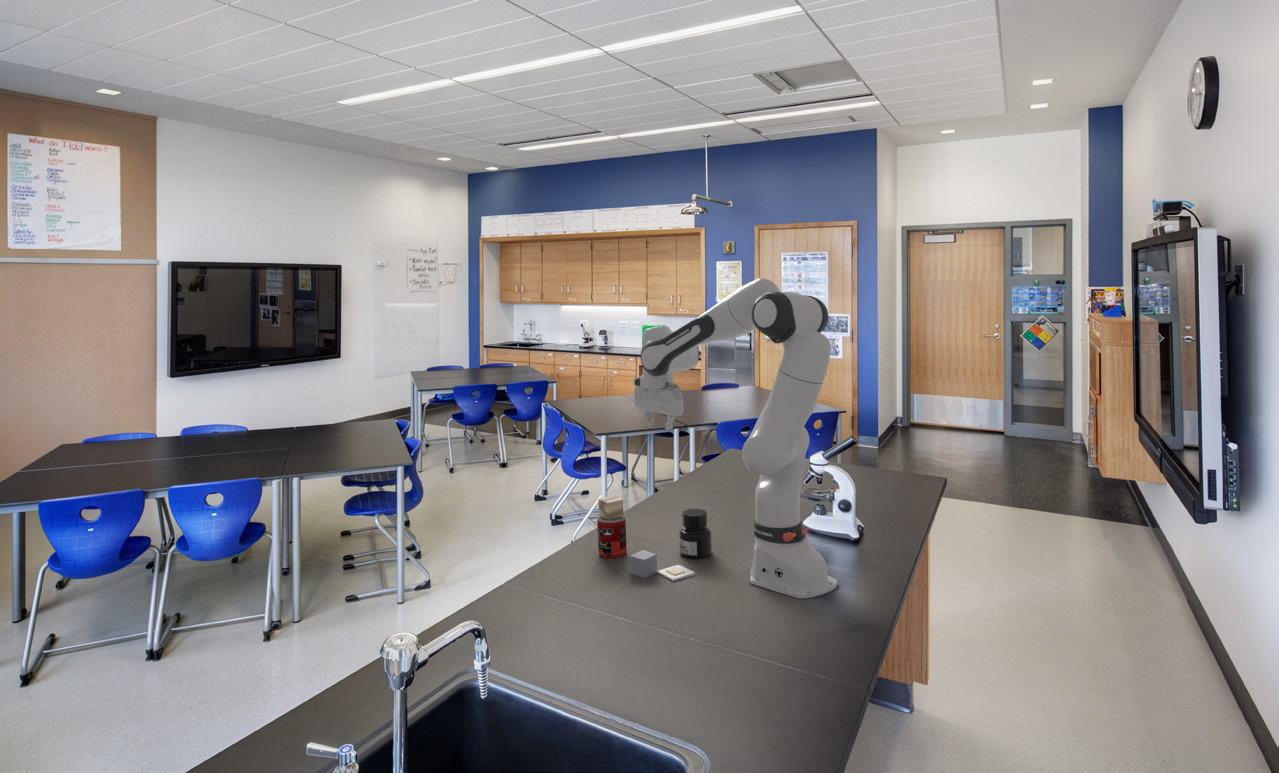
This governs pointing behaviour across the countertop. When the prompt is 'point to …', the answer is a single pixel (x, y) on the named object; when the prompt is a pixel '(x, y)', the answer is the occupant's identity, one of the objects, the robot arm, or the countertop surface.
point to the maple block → (611, 507)
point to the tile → (676, 572)
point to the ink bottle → (695, 535)
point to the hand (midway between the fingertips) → (659, 427)
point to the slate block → (643, 563)
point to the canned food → (612, 537)
